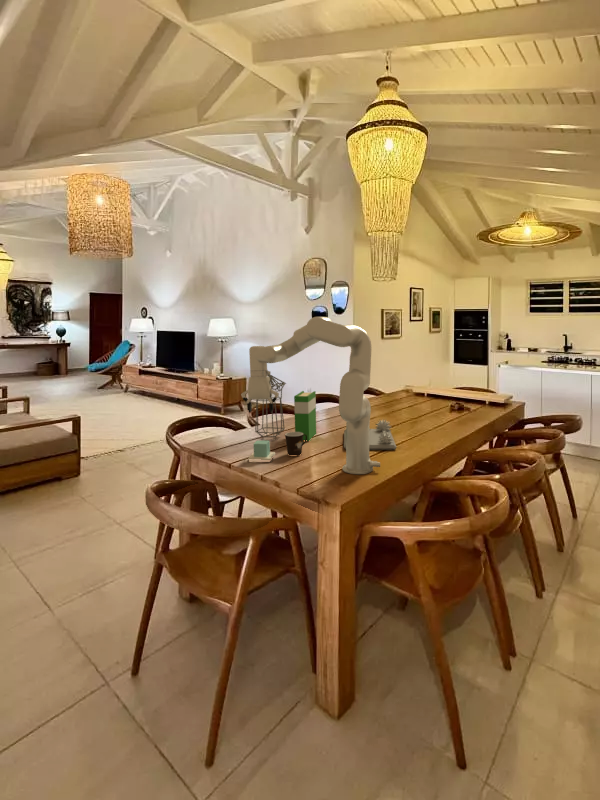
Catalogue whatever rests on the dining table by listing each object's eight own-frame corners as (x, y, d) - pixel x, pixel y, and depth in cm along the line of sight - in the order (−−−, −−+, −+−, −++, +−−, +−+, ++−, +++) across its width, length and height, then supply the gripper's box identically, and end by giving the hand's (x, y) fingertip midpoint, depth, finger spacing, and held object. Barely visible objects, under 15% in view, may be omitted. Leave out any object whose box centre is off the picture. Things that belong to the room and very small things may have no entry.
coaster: (275, 456, 212) (275, 452, 211) (270, 462, 202) (270, 458, 201) (254, 455, 213) (254, 451, 213) (248, 462, 204) (248, 457, 203)
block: (270, 453, 210) (269, 440, 209) (266, 457, 204) (266, 444, 203) (257, 452, 211) (256, 440, 210) (253, 456, 205) (253, 443, 204)
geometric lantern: (251, 441, 240) (248, 375, 235) (263, 435, 254) (260, 372, 249) (279, 442, 235) (276, 375, 230) (289, 436, 249) (287, 372, 244)
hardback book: (303, 433, 254) (302, 391, 250) (316, 433, 252) (315, 391, 248) (295, 441, 237) (294, 396, 233) (309, 441, 236) (308, 396, 232)
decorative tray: (344, 433, 253) (344, 416, 251) (391, 433, 250) (391, 416, 249) (343, 451, 219) (343, 431, 217) (398, 451, 216) (398, 431, 214)
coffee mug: (288, 458, 208) (287, 437, 206) (283, 453, 216) (282, 432, 215) (312, 455, 211) (311, 434, 209) (306, 450, 219) (306, 430, 218)
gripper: (279, 372, 203) (281, 410, 206) (242, 373, 206) (244, 410, 209) (276, 374, 196) (277, 413, 199) (237, 375, 199) (239, 413, 202)
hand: (260, 411), depth 204 cm, fingers open, 9 cm apart
